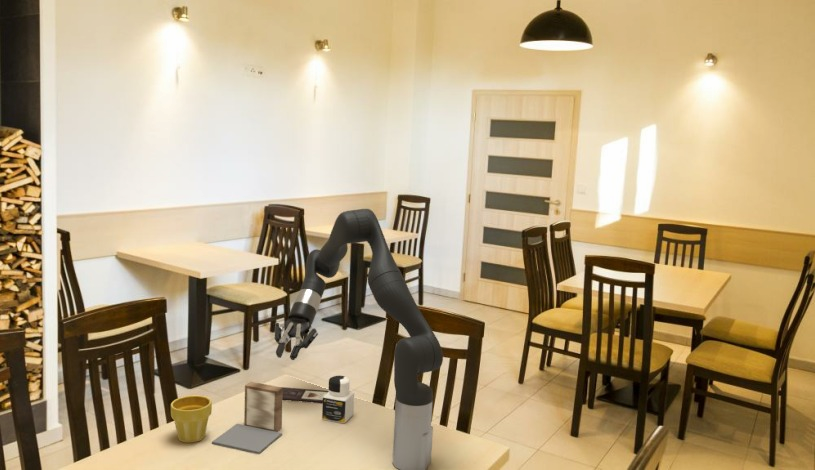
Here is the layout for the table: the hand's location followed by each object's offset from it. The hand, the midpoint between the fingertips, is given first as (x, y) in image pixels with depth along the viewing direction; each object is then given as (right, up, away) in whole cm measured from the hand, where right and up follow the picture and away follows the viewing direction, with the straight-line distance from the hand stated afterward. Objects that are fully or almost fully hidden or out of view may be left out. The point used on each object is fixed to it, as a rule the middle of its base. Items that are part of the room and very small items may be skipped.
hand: (285, 357), depth 196 cm
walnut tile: (-5, -18, -9) cm, 20 cm away
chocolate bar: (+3, -15, +15) cm, 22 cm away
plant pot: (-22, -18, -17) cm, 33 cm away
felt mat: (-7, -19, -16) cm, 26 cm away
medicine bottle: (+15, -18, +1) cm, 23 cm away
